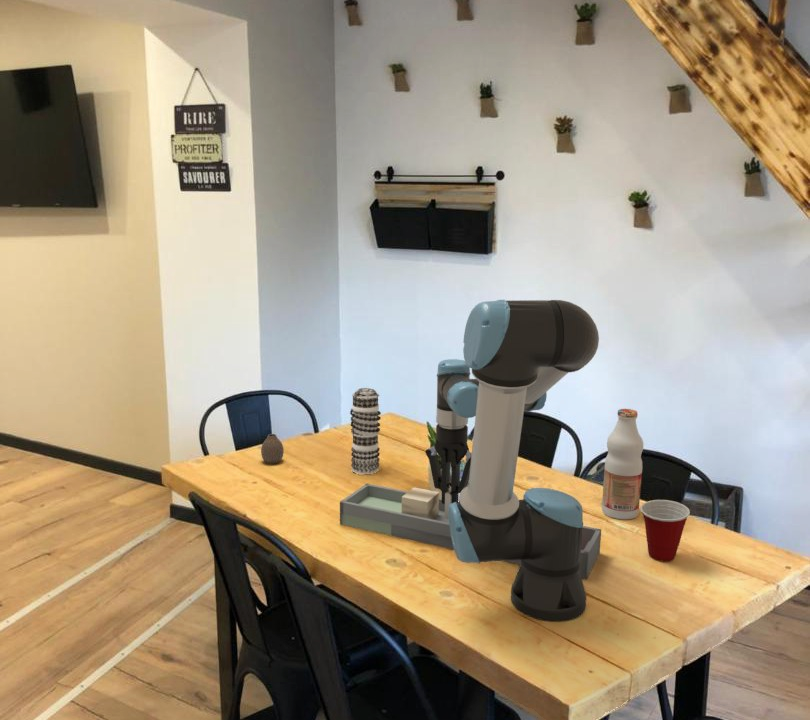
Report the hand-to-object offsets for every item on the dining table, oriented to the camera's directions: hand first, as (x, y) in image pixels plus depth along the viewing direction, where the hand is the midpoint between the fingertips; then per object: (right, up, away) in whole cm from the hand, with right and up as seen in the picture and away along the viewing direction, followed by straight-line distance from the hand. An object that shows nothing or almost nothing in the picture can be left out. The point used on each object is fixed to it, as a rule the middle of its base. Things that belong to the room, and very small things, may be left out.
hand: (449, 516), depth 183 cm
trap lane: (+4, -5, -1) cm, 6 cm away
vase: (-52, +6, +50) cm, 73 cm away
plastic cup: (+48, -7, -9) cm, 50 cm away
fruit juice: (+46, -2, +15) cm, 48 cm away
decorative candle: (-23, +5, +44) cm, 50 cm away
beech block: (-7, -1, +3) cm, 8 cm away
